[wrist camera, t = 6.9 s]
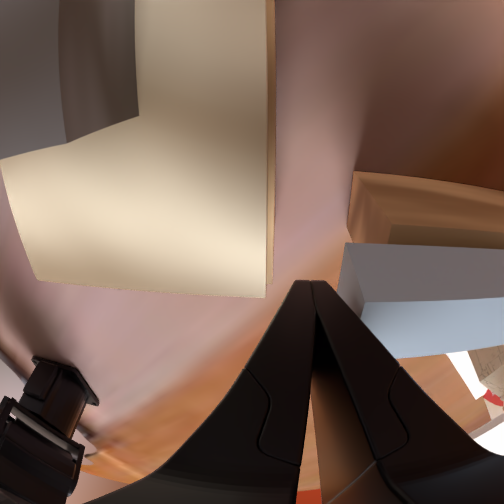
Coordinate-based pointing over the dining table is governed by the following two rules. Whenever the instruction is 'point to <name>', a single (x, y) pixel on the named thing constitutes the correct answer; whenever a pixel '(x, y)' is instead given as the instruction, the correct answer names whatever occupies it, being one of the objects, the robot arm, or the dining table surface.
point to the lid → (138, 142)
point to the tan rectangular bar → (424, 212)
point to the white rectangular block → (485, 390)
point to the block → (426, 296)
